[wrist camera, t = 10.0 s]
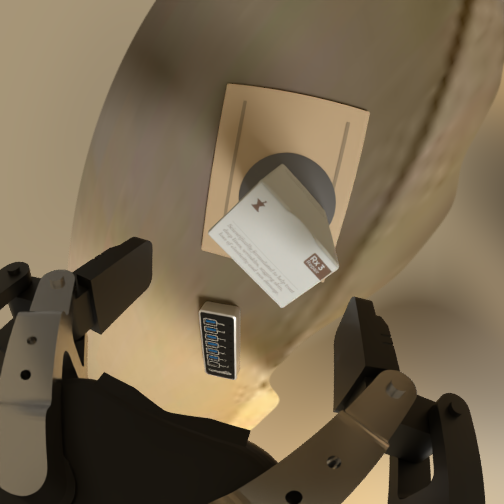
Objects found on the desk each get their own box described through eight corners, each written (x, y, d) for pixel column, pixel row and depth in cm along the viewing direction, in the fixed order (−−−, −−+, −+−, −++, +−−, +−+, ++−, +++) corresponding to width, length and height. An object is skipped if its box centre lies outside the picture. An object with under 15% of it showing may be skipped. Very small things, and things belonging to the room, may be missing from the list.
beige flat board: (229, 84, 22) (227, 83, 22) (368, 113, 21) (370, 112, 20) (203, 247, 29) (201, 250, 29) (323, 279, 28) (323, 283, 27)
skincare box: (249, 192, 25) (196, 234, 14) (285, 160, 23) (257, 174, 12) (294, 241, 26) (276, 315, 15) (330, 211, 24) (342, 269, 13)
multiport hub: (241, 305, 31) (235, 316, 29) (240, 369, 36) (236, 381, 34) (205, 299, 32) (198, 309, 30) (210, 362, 37) (204, 374, 34)
